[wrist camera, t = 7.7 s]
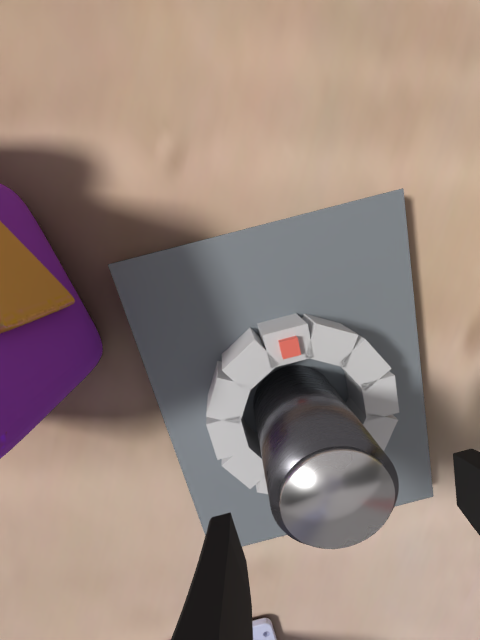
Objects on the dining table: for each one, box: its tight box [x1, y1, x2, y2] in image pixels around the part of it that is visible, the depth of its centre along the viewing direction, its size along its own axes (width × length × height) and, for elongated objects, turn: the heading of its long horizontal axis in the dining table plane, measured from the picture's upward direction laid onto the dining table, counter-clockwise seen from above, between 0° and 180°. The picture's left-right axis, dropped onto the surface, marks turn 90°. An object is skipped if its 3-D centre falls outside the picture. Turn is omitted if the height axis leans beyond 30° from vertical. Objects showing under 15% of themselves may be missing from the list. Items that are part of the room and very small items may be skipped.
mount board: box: [108, 189, 433, 546], centre depth 15 cm, size 18×14×4 cm
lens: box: [253, 365, 399, 549], centre depth 13 cm, size 4×4×6 cm
